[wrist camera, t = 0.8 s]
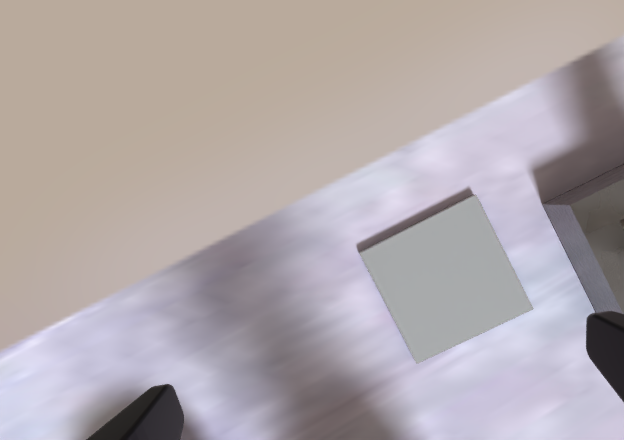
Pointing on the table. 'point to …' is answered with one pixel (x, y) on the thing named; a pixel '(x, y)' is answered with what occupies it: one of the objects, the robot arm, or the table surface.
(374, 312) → the table surface
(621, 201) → the eye block
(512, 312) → the mat
